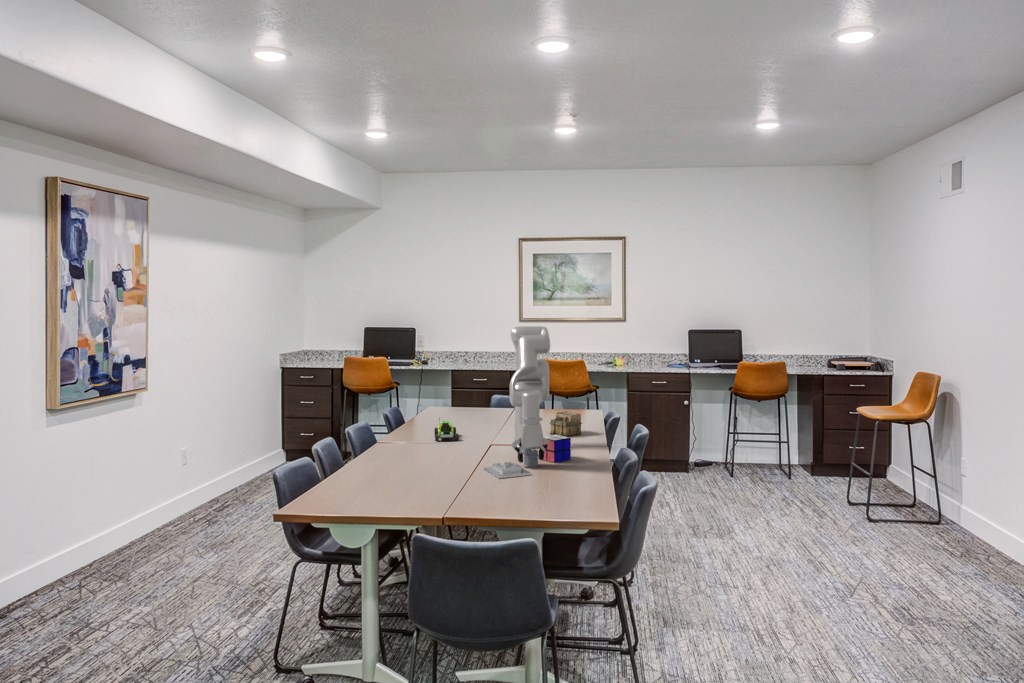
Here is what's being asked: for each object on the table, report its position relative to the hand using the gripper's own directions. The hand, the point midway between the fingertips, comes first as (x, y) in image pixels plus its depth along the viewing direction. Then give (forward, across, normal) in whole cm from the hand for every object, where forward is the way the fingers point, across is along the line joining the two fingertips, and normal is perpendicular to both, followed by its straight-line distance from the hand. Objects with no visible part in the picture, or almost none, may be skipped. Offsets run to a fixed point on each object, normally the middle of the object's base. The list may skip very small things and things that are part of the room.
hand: (531, 460), depth 289 cm
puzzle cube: (+2, -15, -6) cm, 16 cm away
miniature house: (+2, -47, -55) cm, 73 cm away
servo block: (+2, 0, 0) cm, 2 cm away
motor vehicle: (+2, +13, -73) cm, 74 cm away
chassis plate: (+2, +14, +6) cm, 15 cm away
